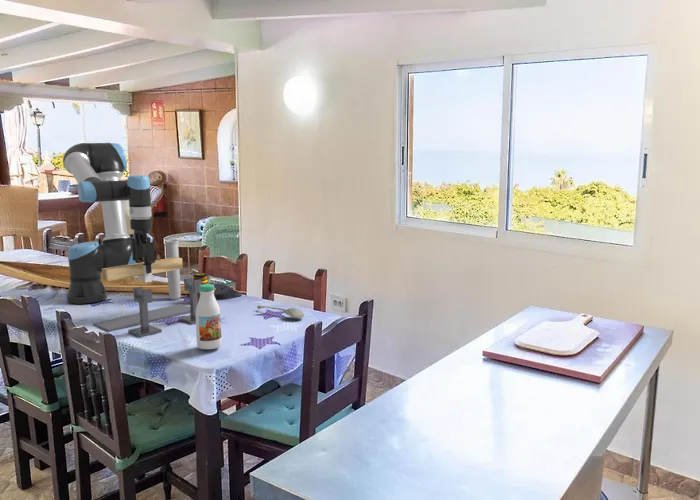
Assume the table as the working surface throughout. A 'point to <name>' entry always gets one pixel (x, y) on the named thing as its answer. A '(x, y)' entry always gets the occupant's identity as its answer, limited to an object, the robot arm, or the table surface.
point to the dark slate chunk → (224, 292)
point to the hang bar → (140, 269)
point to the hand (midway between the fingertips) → (144, 280)
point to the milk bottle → (208, 319)
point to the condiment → (200, 277)
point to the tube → (173, 274)
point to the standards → (146, 297)
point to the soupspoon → (287, 311)
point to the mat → (135, 318)
